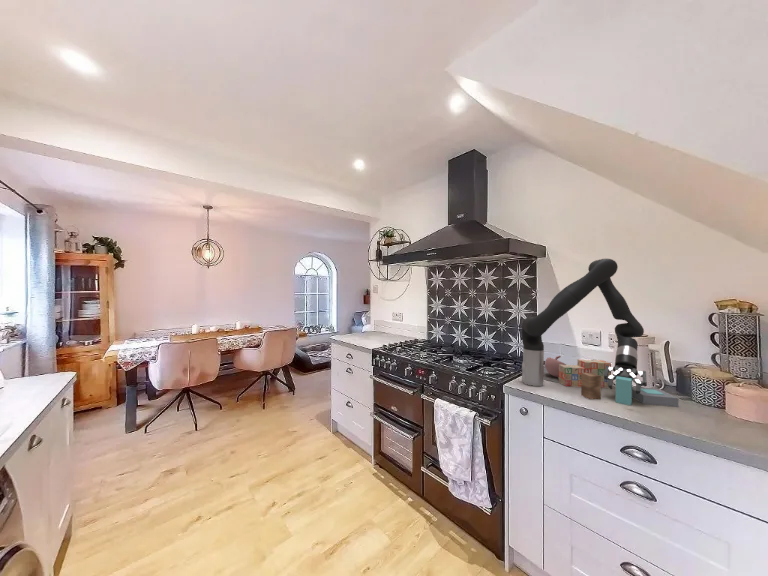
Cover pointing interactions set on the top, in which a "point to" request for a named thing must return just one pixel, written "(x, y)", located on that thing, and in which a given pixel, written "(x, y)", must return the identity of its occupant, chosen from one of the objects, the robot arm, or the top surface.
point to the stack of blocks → (572, 373)
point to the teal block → (624, 390)
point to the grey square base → (655, 397)
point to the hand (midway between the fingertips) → (623, 390)
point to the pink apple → (553, 366)
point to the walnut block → (591, 385)
